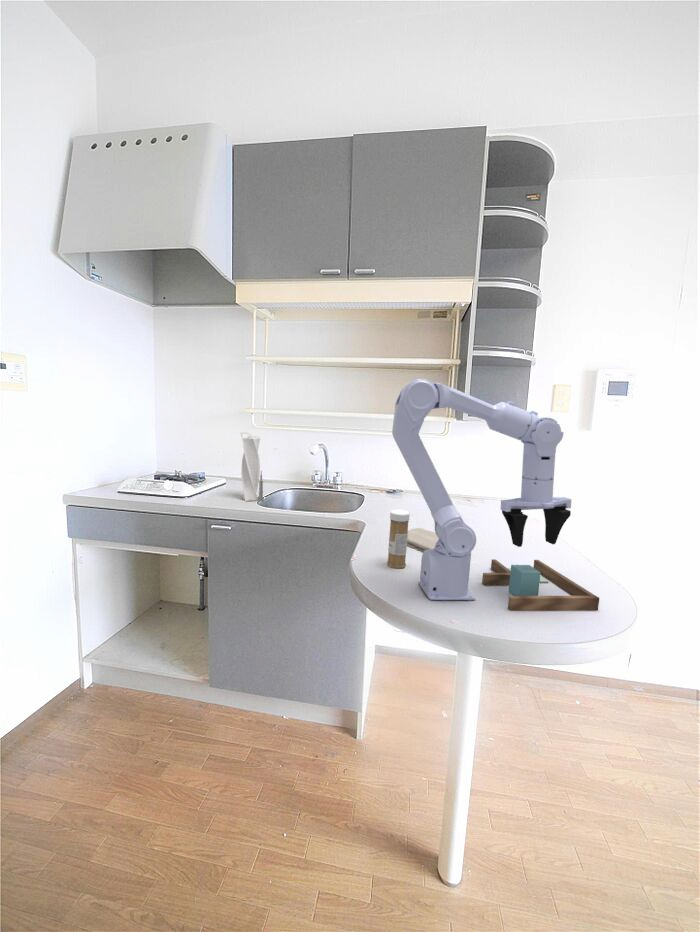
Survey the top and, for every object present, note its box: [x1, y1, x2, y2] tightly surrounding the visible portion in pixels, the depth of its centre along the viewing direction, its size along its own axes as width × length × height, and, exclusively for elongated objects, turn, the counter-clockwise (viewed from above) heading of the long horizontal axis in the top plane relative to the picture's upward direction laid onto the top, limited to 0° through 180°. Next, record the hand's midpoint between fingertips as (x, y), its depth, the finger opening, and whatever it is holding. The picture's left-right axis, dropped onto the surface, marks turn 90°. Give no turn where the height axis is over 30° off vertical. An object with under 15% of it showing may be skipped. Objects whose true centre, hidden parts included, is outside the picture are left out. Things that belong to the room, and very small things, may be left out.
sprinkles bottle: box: [386, 509, 410, 569], centre depth 90 cm, size 5×5×13 cm
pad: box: [506, 567, 550, 584], centre depth 88 cm, size 8×8×1 cm
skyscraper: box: [240, 431, 265, 503], centre depth 154 cm, size 8×8×28 cm
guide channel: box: [481, 559, 600, 612], centre depth 82 cm, size 18×20×2 cm
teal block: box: [508, 564, 541, 596], centre depth 78 cm, size 4×4×6 cm
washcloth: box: [407, 527, 439, 553], centre depth 108 cm, size 12×18×3 cm, turn 38°
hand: (533, 544), depth 77 cm, fingers open, 7 cm apart
